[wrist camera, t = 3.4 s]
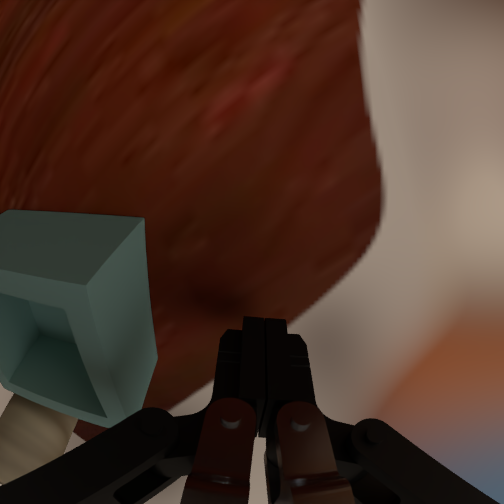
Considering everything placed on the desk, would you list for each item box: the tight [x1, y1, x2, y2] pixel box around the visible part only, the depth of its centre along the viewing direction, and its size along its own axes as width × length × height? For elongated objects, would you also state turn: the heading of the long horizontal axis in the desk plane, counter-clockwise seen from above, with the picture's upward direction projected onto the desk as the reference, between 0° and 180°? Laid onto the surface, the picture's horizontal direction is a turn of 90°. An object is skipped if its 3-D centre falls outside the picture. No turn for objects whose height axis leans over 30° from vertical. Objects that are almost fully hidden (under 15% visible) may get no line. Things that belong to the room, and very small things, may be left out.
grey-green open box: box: [0, 210, 158, 428], centre depth 10 cm, size 7×7×4 cm
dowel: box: [0, 393, 78, 485], centre depth 11 cm, size 4×4×9 cm
